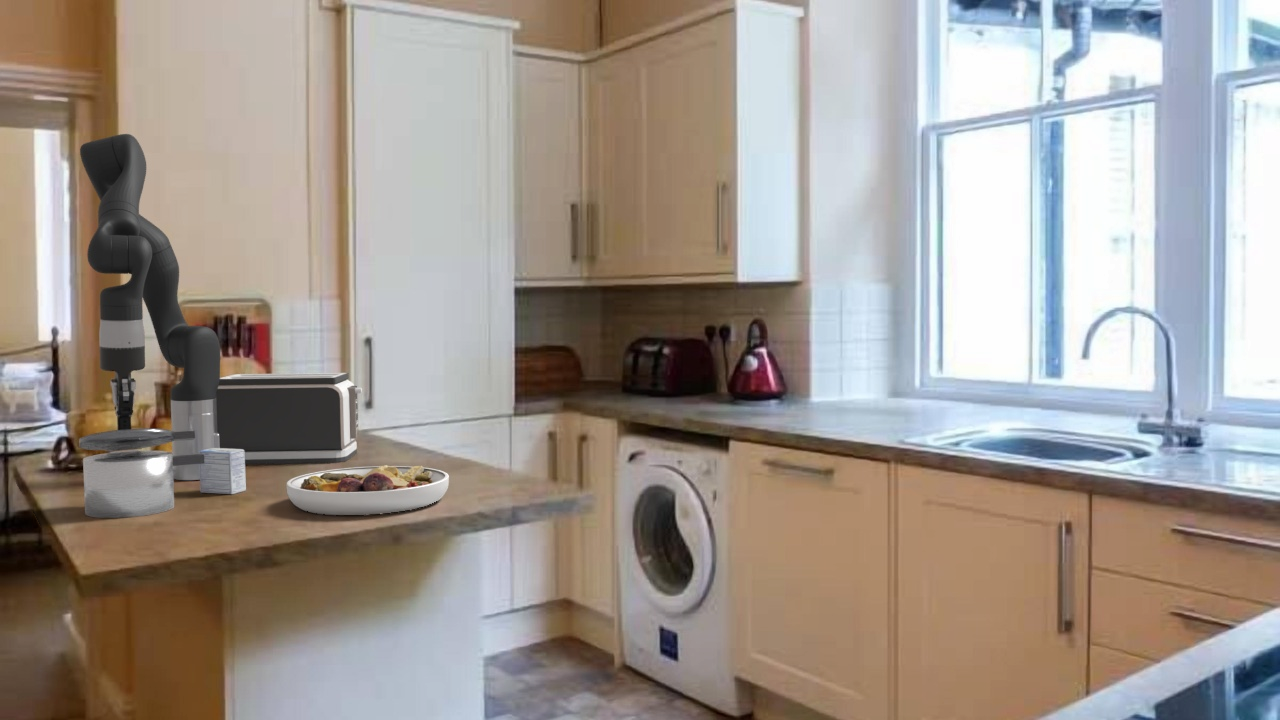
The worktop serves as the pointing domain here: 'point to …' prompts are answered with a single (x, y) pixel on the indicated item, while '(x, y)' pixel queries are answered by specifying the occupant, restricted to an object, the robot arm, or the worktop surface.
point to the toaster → (288, 417)
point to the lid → (132, 439)
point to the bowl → (367, 489)
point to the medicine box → (223, 471)
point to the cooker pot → (131, 482)
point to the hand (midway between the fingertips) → (124, 436)
